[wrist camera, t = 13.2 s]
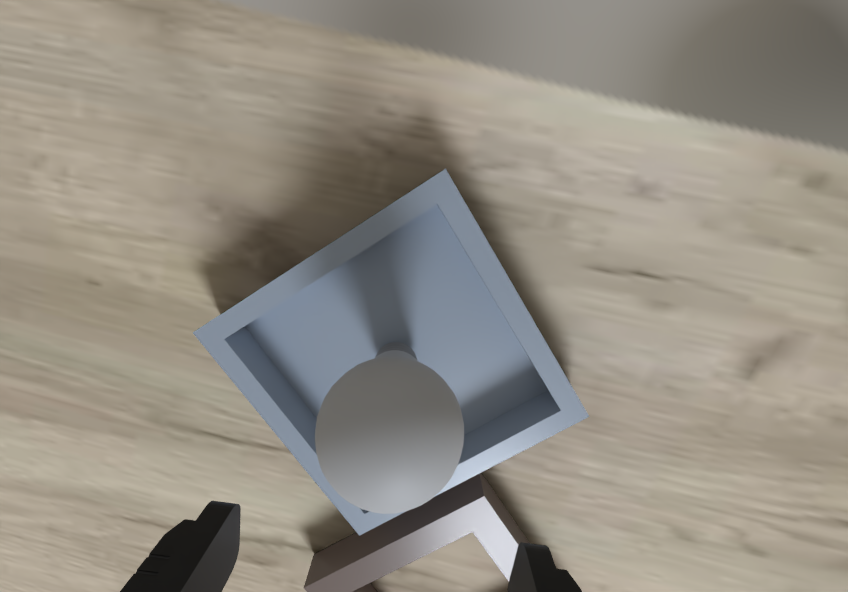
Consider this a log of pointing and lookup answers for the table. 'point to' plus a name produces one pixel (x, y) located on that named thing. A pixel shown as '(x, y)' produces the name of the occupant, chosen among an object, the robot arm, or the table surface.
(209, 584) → the robot arm
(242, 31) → the table surface
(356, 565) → the brownish grey square frame
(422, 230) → the tray
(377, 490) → the lightbulb
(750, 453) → the table surface
